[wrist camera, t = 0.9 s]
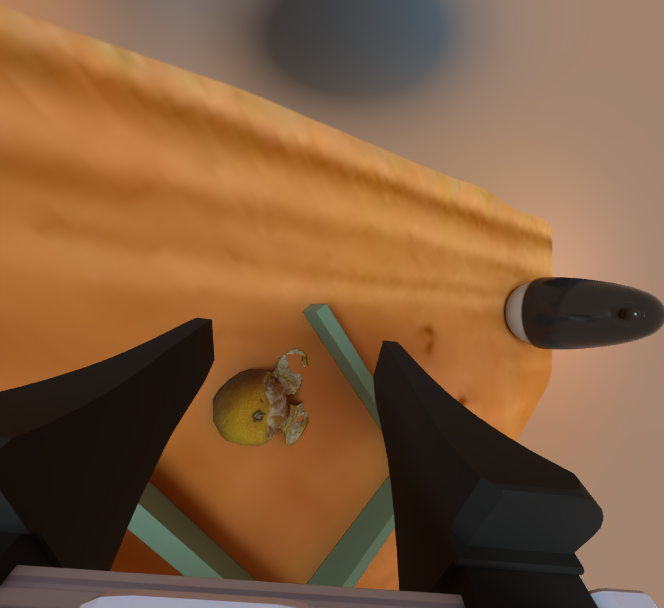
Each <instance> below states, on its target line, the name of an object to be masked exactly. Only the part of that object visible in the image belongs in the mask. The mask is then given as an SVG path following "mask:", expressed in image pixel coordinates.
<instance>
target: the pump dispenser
mask: <svg viewBox="0 0 664 608" xmlns="http://www.w3.org/2000/svg"><path fill="white" fill-rule="evenodd" d="M505 315H506V321H507V324H508V326H509V328H510V330H511V331H512V333H513V334H514V335H515V336H516V337H517V338H519V339H520V340H522V341H524V342H526V343H528V344H531V345H533V346H535V347H537V348H540V349H583V348H594V347H603V346H610V345H617V344H623V343H627V342H631V341H635V340H639V339H642V338H645V337H647V336H650V335H652V334H654V333H656V332H657V331H658V330H659V329H660V328H661V327H662V326H663V324H664V305H663V304H662V302H661V301H660V300H659V299H658V298H656V297H655V296H653V295H651V294H649V293H647V292H644V291H642V290H639V289H636V288H633V287H629V286H625V285H620V284H615V283H610V282H603V281H595V280H588V279H579V278H564V277H542V278H537V279H535V280H533V281H531V282H528V283H525V284H523V285H521V286H519V287H518V288H517V289H515V290H514V291H513V292H512V294H511V295H510V297H509V299H508V301H507V304H506V310H505Z"/></svg>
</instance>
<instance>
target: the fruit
mask: <svg viewBox="0 0 664 608" xmlns="http://www.w3.org/2000/svg"><path fill="white" fill-rule="evenodd" d="M295 352H296V353H297V354H300V355H301V357H302V364H303V367H305V366H307V365H308V364H307V359H306V354H304V353H303V352H302V351H301V350H299V349H297V348H294V349H291V350H289V351H287V353H286V354H283V355H282V356H281V357H280V358H279V361H278V363H277V368H276V369H275V370H274V371H273V372H270V371H265V370H254V369H249V370H246V371H244V372H240V373H238V374H237V375H235V376H234V377H232V378H231V379H229V380H228V381H227V382H226V383H225V384H224V385H223V386H222V387H221V388H220V389H219V390H218V392H217V393H216V395H215V397H214V399H213V412H214V415H213V421H214V423H215V425H216V427H217V429H218V431H219V433H220V435H221V436H222V437H223V438H224V439H225V440H227V441H230V442H233V443H238V444H241V445H250V446H259V445H262V444H265V443H266V442H268V441H269V440H270V439H271V438H272V437H273V436H274V435H275V434H276V432H277V431H278V429H279V430H282V431H283V432H284V433H285V435H286V442H285V444H286V445H291V444H293V443H294V442H295V441H297V439H298V438H299V437H300V435H301V434H302V432H303V430H304V428H305V426H306V424H307V419H308V417H307V413H306V412H305V411H301V408H302V407H303V403H301V404H299V405H297V406H294V405H292V404H291V403H289V402H288V401H287V396H288V395H289V394H295V393H296V392H297V390H298V389H299V388H300V384H301V383H302V376H301V375H300V373H297V374H295V373H293V372H292V371H290V370H289V369H288V363H289V362H287V360H286V355H287V354H292V355H293V354H294V353H295ZM293 359H294V357H293ZM302 415H305V416H304V418H303V420H302V421H301V422H299V423H297V418H298V416H302Z"/></svg>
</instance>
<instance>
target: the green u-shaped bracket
mask: <svg viewBox="0 0 664 608" xmlns="http://www.w3.org/2000/svg"><path fill="white" fill-rule="evenodd" d="M302 312H303V313H304V315H305V316H306V318H307V319H308V321H309V322H310V324H311V325H312V327H313V328H314V330H315V331H316V333H317V334H318V336H319V337H320V339H321V340H322V342H323V343H324V345H325V346H326V348H327V349H328V351H329V352H330V354H331V355H332V357H333V358H334V360H335V361H336V363H337V364H338V366H339V367H340V369H341V371H342V372H343V374H344V375H345V377H346V378H347V380H348V381H349V383H350V384H351V386H352V387H353V389H354V390H355V392H356V393H357V395H358V396H359V398H360V399H361V401H362V402H363V404H364V405H365V407H366V408H367V410H368V411H369V413H370V414H371V416H372V417H373V419H374V420H375V422H376V423H377V425H378V426H379V428H380V429H381V424H380V420H379V415H378V411H377V406H376V401H375V393H374V381H373V377H372V375H371V374H370V372H369V370H368V369H367V367H366V366H365V364H364V362H363V361H362V359H361V358H360V356H359V354H358V353H357V351H356V350H355V348H354V347H353V345H352V343H351V342H350V340H349V339H348V337H347V335H346V334H345V332H344V331H343V329H342V328H341V326H340V324H339V323H338V321H337V320H336V318H335V316H334V315H333V313H332V312H331V310H330V308H329V307H328V305H327V304H311V305H310V306H309V307H308V308H306V309H305V310H304V311H302ZM381 431H382V429H381ZM394 528H395V521H394V510H393V500H392V491H391V482H390V475H389V477H388V478H387V479H386V481H385V482H384V483H383V484H382V486H381V487H380V488H379V490H378V491H377V492H376V494H375V495H374V496H373V498H372V499H371V500H370V502H369V503H368V504H367V506H366V507H365V508H364V509H363V511H362V512H361V513H360V515H359V516H358V517H357V519H356V520H355V521H354V523H353V524H352V525H351V527H350V528H349V529H348V531H347V532H346V533H345V534H344V536H343V537H342V538H341V540H340V541H339V542H338V544H337V545H336V546H335V548H334V549H333V550H332V552H331V553H330V554H329V556H328V557H327V558H326V559H325V561H324V562H323V563H322V565H321V566H320V567H319V569H318V570H317V571H316V573H315V574H314V575H313V577H312V578H311V579H310V581H309V582H308V583H307V585H322V586H337V587H352V588H353V587H354V586H355V585H356V583H357V582H358V580H359V579H360V577H361V576H362V574H363V573H364V571H365V570H366V569H367V567H368V566H369V564H370V563H371V561H372V560H373V558H374V557H375V555H376V554H377V553H378V551H379V550H380V548H381V547H382V545H383V544H384V542H385V541H386V539H387V538H388V537H389V535H390V534H391V532H392V531H393V529H394ZM127 529H128V530H130V531H131V532H132V533H133V534H134V535H136V536H137V537H138V538H139V539H140V540H142V541H143V542H144V543H145V544H146V545H148V546H149V547H150V548H151V549H152V550H154V551H155V552H156V553H157V554H158V555H159V556H161V557H162V558H163V559H164V560H165V561H167V562H168V563H169V564H170V565H171V566H173V567H174V568H175V569H176V570H177V571H179V572H180V573H181V574H182V575H183V576H189V577H203V578H218V579H233V580H248V581H256V580H255V579H253V578H252V577H251V576H250V575H249V574H248V573H247V572H246V571H245V570H244V569H243V568H242V567H241V566H240V565H238V564H237V563H236V562H235V561H234V560H233V559H232V558H231V557H230V556H229V555H228V554H227V553H226V552H224V551H223V550H222V549H221V548H220V547H219V546H218V545H217V544H216V543H215V542H214V541H213V540H212V539H211V538H209V537H208V536H207V535H206V534H205V533H204V532H203V531H202V530H201V529H200V528H199V527H198V526H197V525H195V524H194V523H193V522H192V521H191V520H190V519H189V518H188V517H187V516H186V515H185V514H184V513H183V512H182V511H180V510H179V509H178V508H177V507H176V506H175V505H174V504H173V503H172V502H171V501H170V500H169V499H168V498H167V497H165V496H164V495H163V494H162V493H161V492H160V491H159V490H158V489H157V488H156V487H155V486H154V485H153V484H151V483H150V482H149V481H148V483H147V485H146V487H145V490H144V492H143V494H142V496H141V498H140V501H139V503H138V505H137V507H136V510H135V512H134V514H133V516H132V519H131V521H130V523H129V526H128V528H127Z"/></svg>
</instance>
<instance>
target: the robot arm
mask: <svg viewBox="0 0 664 608" xmlns="http://www.w3.org/2000/svg"><path fill="white" fill-rule="evenodd" d="M213 361H214V345H213V330H212V320H211V319H203V318H195V319H193V320H190V321H188V322H186V323H184V324H182V325H180V326H178V327H176V328H174V329H172V330H170V331H168V332H166V333H164V334H162V335H160V336H158V337H156V338H154V339H152V340H150V341H148V342H146V343H143V344H141V345H139V346H137V347H135V348H132V349H130V350H128V351H126V352H124V353H121V354H119V355H116V356H114V357H111V358H109V359H106V360H104V361H101V362H98V363H96V364H93V365H90V366H87V367H85V368H82V369H79V370H75V371H72V372H69V373H66V374H63V375H59V376H56V377H53V378H50V379H47V380H43V381H40V382H36V383H32V384H29V385H25V386H21V387H17V388H13V389H9V390H5V391H1V392H0V608H657V606H656V605H655V603H654V602H653V601H652V599H651V598H650V596H649V595H648V594H647V593H645V592H643V591H634V590H621V589H607V588H604V589H595V590H591V591H588V590H587V588H586V586H585V585H584V583H583V582H582V580H581V578H580V576H579V575H582V574H583V573H584V568H583V566H582V565H581V563H580V561H579V560H578V559H577V557H576V555H575V552H576V551H577V550H578V549H579V548H580V547H581V546H582V545H583V544H585V543H586V542H587V541H588V540H589V539H590V538H591V537H592V536H594V534H595V533H596V532H597V531H598V530H599V529H600V527H601V525H602V522H603V512H602V509H601V508H600V506H599V505H598V504H597V503H596V501H595V500H594V499H593V497H592V496H591V495H590V494H589V492H588V491H587V490H586V488H585V487H584V486H583V485H582V483H581V482H580V481H579V479H578V478H577V477H576V476H575V474H573V473H572V472H570V471H568V470H566V469H564V468H562V467H560V466H558V465H557V464H555V463H553V462H551V461H549V460H547V459H545V458H543V457H542V456H539V455H538V454H536V453H534V452H532V451H530V450H529V449H527V448H526V447H524V446H522V445H520V444H519V443H517V442H515V441H514V440H512V439H510V438H509V437H507V436H506V435H504V434H503V433H501V432H499V431H498V430H496V429H495V428H493V427H492V426H490V425H489V424H488V423H486V422H485V421H483V420H482V419H480V418H479V417H477V416H476V415H475V414H473V413H472V412H471V411H469V410H468V409H467V408H466V407H464V406H463V405H462V404H461V403H459V402H458V401H457V400H456V399H454V398H453V397H452V396H451V395H450V394H448V393H447V392H446V391H445V390H444V389H443V388H442V387H441V386H440V385H439V384H437V383H436V382H435V381H434V380H433V379H432V378H431V377H430V376H429V375H428V374H427V373H426V372H425V371H424V370H423V369H422V368H421V367H420V366H419V365H418V364H417V363H416V361H415V360H414V359H413V358H412V357H411V356H410V355H409V354H408V353H407V352H406V351H405V350H404V349H403V347H402V346H401V345H400V344H399V343H398V342H391V341H383V343H382V347H381V351H380V354H379V358H378V362H377V366H376V369H375V373H374V377H373V381H374V393H375V401H376V406H377V411H378V415H379V420H380V424H381V429H382V433H383V438H384V442H385V447H386V452H387V458H388V465H389V473H390V482H391V491H392V500H393V510H394V521H395V533H396V546H397V560H398V576H399V591H396V590H382V589H367V588H352V587H337V586H322V585H307V584H292V583H278V582H263V581H248V580H233V579H218V578H203V577H189V576H174V575H159V574H144V573H129V572H114V571H110V569H111V567H112V564H113V562H114V559H115V557H116V554H117V552H118V550H119V547H120V545H121V542H122V540H123V537H124V535H125V533H126V530H127V528H128V526H129V523H130V521H131V519H132V516H133V514H134V512H135V510H136V507H137V505H138V503H139V501H140V498H141V496H142V494H143V492H144V490H145V487H146V485H147V483H148V481H149V479H150V477H151V475H152V473H153V470H154V468H155V466H156V464H157V462H158V460H159V458H160V456H161V454H162V452H163V450H164V448H165V446H166V444H167V442H168V440H169V438H170V436H171V435H172V433H173V431H174V429H175V428H176V426H177V425H178V423H179V421H180V420H181V418H182V417H183V415H184V413H185V412H186V410H187V409H188V407H189V406H190V404H191V402H192V401H193V399H194V398H195V396H196V394H197V393H198V391H199V389H200V388H201V386H202V385H203V383H204V381H205V379H206V377H207V375H208V373H209V371H210V368H211V366H212V364H213Z"/></svg>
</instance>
